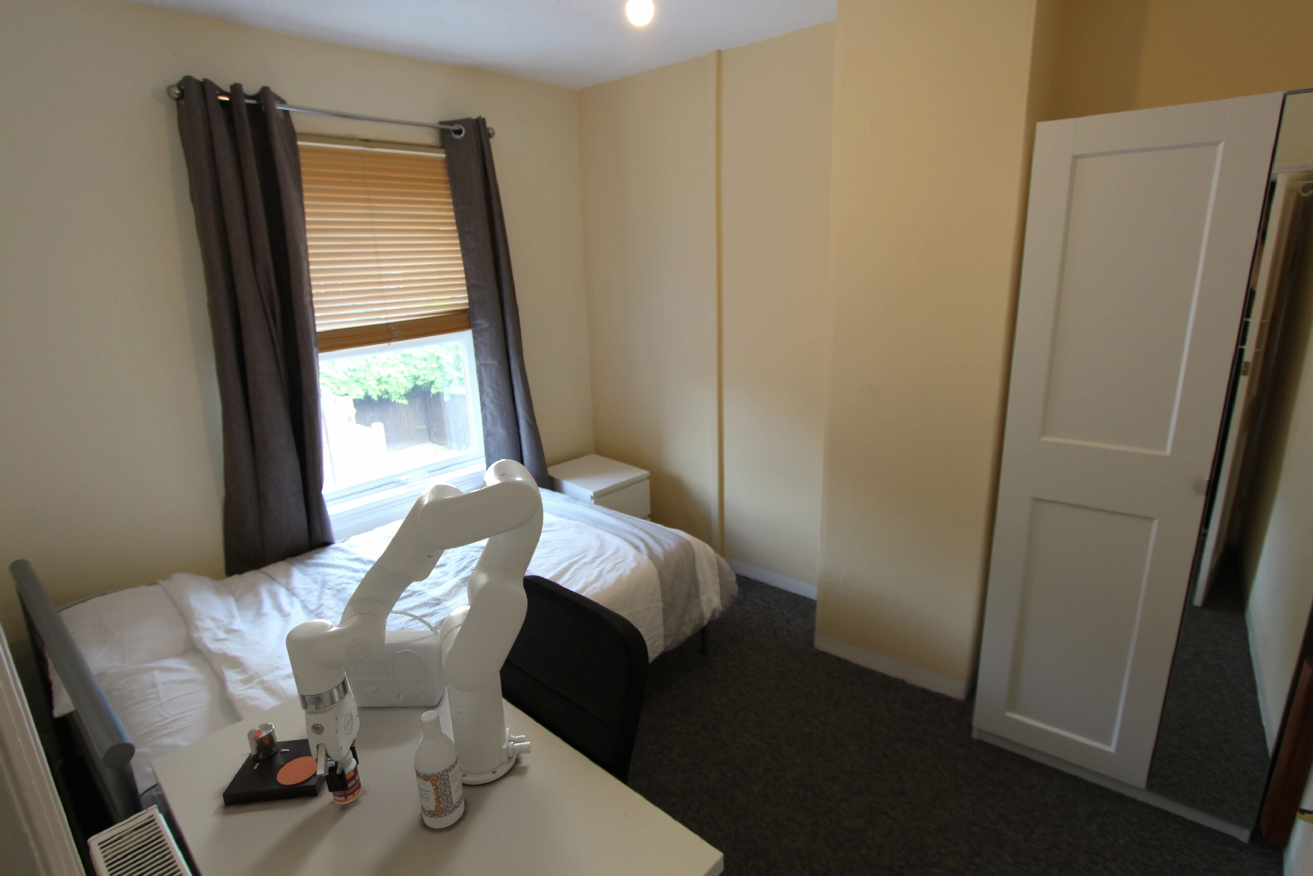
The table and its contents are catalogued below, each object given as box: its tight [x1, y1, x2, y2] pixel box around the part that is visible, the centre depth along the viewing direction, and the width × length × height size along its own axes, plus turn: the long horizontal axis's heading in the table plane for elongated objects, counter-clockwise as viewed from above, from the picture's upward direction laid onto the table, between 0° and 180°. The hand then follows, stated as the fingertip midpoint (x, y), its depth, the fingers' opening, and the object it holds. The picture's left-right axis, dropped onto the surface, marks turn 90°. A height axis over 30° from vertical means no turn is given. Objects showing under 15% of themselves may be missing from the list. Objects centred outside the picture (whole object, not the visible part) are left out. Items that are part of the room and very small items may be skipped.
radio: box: [344, 609, 447, 708], centre depth 142 cm, size 22×8×25 cm, turn 88°
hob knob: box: [246, 722, 278, 761], centre depth 127 cm, size 4×4×5 cm
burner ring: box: [277, 756, 317, 785], centre depth 123 cm, size 7×7×1 cm
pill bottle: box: [328, 749, 363, 805], centre depth 118 cm, size 5×5×8 cm
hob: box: [221, 738, 329, 807], centre depth 126 cm, size 17×14×3 cm
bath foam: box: [413, 709, 465, 830], centre depth 112 cm, size 7×7×20 cm
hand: (344, 777), depth 118 cm, fingers closed on pill bottle, 4 cm apart
